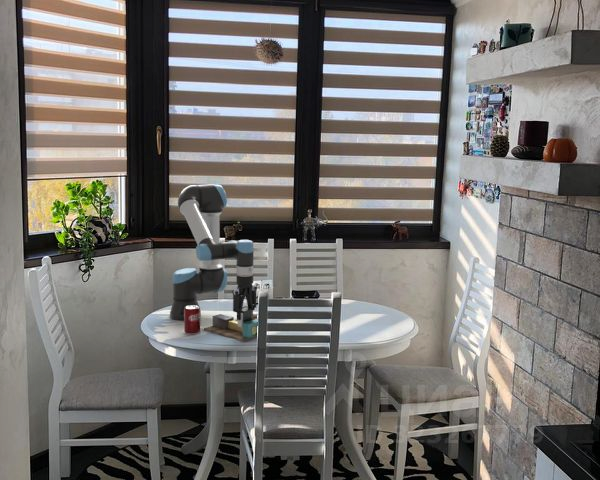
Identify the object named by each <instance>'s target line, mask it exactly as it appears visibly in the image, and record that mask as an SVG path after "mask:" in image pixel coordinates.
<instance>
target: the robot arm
mask: <svg viewBox="0 0 600 480" xmlns="http://www.w3.org/2000/svg"><path fill="white" fill-rule="evenodd" d="M227 203H228V198H227V193H226V191H225V189H224V188H223V186H222V185H220V184H214V183H213V184H211V183H210V184H193V185H192V184H191V185H188V186H187V187H185V188H183V189H182V190H181V191H180V194H179V195H178V198H177V207H178V210H179V212H180V214H182V215H183V216H184V218H185V220H186V222H187V224H188V226H189V229H190V231H191V234H192V236H193V237H194V240H195V242H196V244H197V245H196V247H195V255H196V259H197V260H198V261H200V262H201V264H200V265H199V268H198V269H199V270H197V269H196V268H194V267H187V268H186V267H185V268H182V269H181V268H180V269H178V270H175V272H173V273H172V281H171V282H172V299H173V300H172V305H171V309H170V311H169V318H171V319H172V320H178V321H184V308H185V306H189V305H196V306H199V307H200V305H199V303H198V295H203V294H204V295H205V294H212V293H213V294H216V293H221V292H223V291H224V290H225V289H226V287H227V284H228V273H227V270H226V269H225V268H224V266H223V264H222V263H221V261H220V260H228V259H235V260H236V284H237V287H236V289H235V290H234V289H232V291H231V292H232V312H234V313H236V321H238V326H239V327H242V323H243V313H241V312H242V307H244V302H245V300H246V304H247V305H246V306H248V308H249V309H252V317H253V314H254V311H255V309H256V308H257V292H258V291H257V290H258V287H257V286H255V285H253V284H254V251H255V249H254V248H255V247H254V242H253V241H252V240H249V239H240V240H235V239H234V240H233V239H231V240H229V241H225V242H221V240H220V239H221V238H220V233H221V232H220V231H221V230H220V215H221V214H222V213H223V209H224V208H226V207H227ZM201 316H202V312H201V310H200V317H201Z"/></svg>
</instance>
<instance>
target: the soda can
mask: <svg viewBox="0 0 600 480" xmlns="http://www.w3.org/2000/svg"><path fill="white" fill-rule="evenodd" d="M200 311H201V307H200V305H199V306H196V305H189V306H185V308H184V320H183V323H184V326H183V327H184V329H183V330H184V333H185V334H186V335H197V334H199V333H200V332H201V316H200Z"/></svg>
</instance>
